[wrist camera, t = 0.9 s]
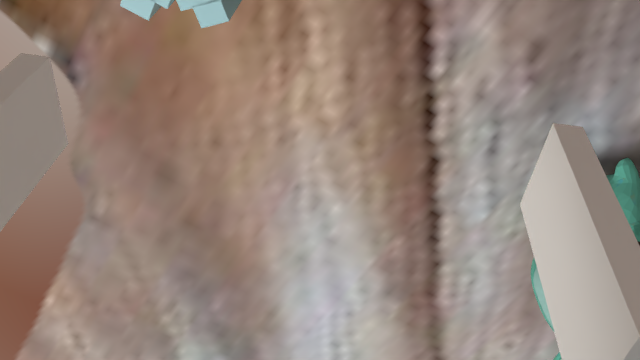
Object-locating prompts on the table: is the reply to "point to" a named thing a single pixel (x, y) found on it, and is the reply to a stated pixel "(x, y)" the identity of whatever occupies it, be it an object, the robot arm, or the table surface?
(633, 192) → the toy
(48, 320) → the table surface
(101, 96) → the table surface
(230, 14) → the teal gear
